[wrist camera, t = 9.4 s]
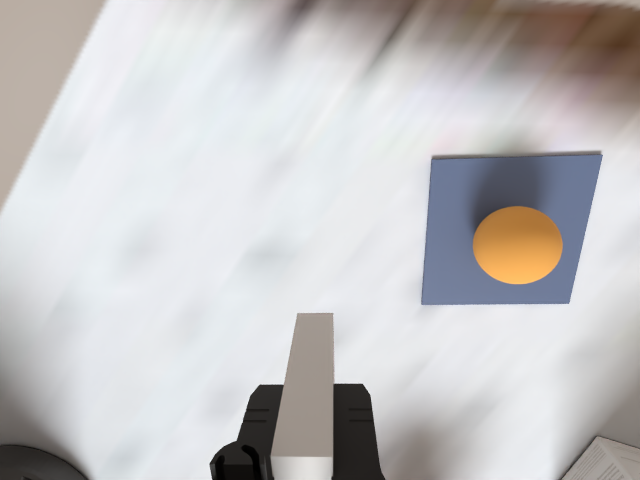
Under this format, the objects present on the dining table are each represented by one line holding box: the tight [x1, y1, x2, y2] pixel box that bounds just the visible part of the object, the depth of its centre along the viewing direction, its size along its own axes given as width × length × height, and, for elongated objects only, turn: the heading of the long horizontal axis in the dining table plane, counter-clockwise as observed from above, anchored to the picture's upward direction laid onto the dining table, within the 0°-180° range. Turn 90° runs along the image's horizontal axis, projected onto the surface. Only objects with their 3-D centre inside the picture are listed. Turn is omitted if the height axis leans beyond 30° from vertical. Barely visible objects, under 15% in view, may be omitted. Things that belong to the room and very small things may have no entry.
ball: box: [473, 206, 563, 284], centre depth 24 cm, size 6×6×6 cm
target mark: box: [422, 155, 603, 305], centre depth 27 cm, size 12×12×1 cm
